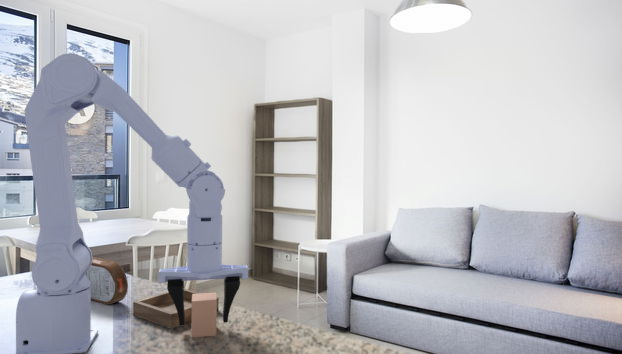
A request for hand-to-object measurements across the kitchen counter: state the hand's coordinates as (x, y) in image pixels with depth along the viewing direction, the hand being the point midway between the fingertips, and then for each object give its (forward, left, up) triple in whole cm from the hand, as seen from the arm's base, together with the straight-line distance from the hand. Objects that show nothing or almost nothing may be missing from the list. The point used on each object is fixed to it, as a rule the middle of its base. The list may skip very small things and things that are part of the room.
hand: (204, 321), depth 72 cm
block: (0, 0, -2) cm, 2 cm away
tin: (-21, +21, -2) cm, 30 cm away
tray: (-5, +10, -2) cm, 11 cm away
